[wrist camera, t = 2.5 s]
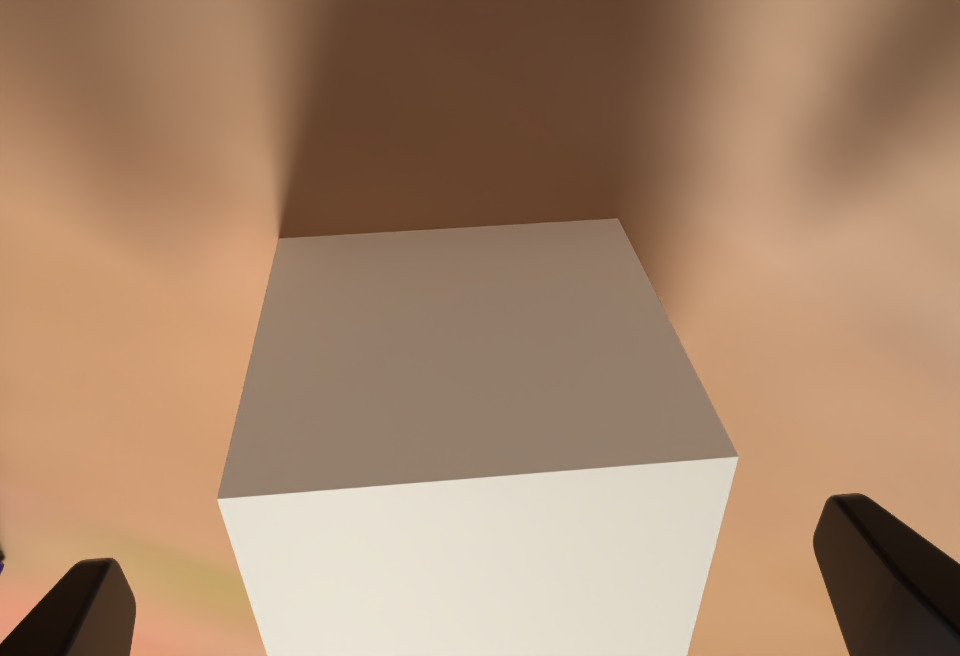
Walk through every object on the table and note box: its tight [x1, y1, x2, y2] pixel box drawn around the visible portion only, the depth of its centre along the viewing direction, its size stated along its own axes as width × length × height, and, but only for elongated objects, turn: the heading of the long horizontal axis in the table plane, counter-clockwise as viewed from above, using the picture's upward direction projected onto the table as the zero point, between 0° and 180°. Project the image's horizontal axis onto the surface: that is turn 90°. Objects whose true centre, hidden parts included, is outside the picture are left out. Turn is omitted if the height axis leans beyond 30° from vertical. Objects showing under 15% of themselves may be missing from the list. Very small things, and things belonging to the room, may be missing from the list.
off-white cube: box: [217, 218, 739, 656], centre depth 11 cm, size 5×5×5 cm
